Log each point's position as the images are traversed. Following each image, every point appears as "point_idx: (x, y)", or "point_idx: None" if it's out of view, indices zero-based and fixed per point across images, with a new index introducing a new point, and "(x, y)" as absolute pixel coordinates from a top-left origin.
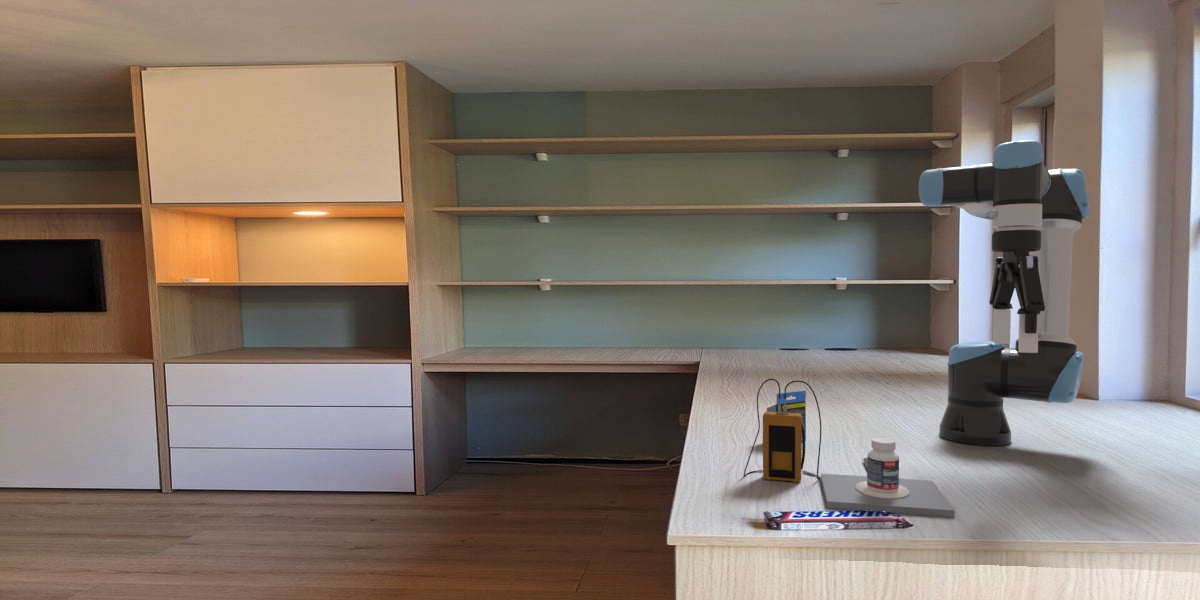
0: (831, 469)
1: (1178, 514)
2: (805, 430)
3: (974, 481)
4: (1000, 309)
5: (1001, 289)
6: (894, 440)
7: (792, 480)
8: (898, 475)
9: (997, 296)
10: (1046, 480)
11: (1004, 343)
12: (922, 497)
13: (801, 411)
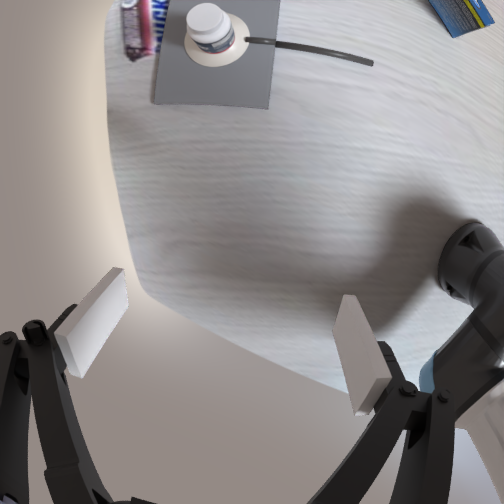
0: (330, 12)
1: (209, 323)
2: (460, 34)
3: (298, 173)
4: (371, 393)
5: (336, 472)
6: (204, 30)
7: None
8: (203, 48)
9: (370, 432)
10: (308, 262)
11: (336, 319)
12: (193, 78)
13: (472, 22)
